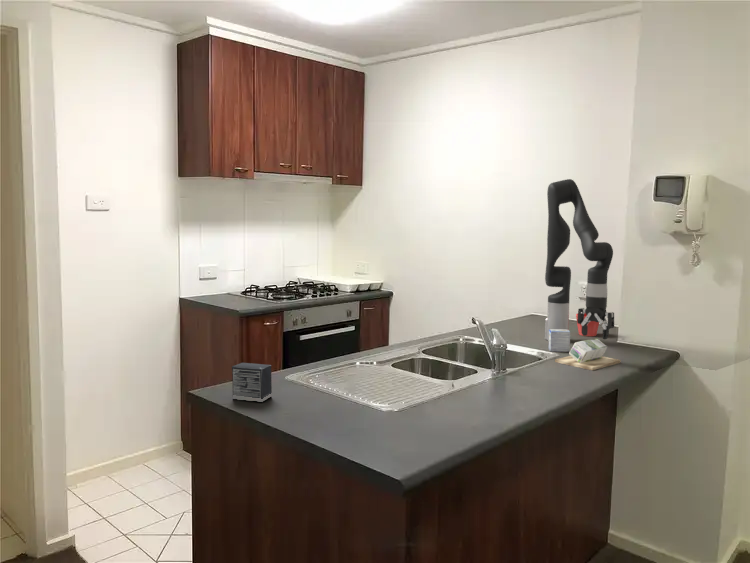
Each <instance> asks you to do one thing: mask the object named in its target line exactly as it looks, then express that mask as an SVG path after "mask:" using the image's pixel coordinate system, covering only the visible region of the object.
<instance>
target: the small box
mask: <svg viewBox="0 0 750 563" xmlns="http://www.w3.org/2000/svg"><path fill="white" fill-rule="evenodd" d="M231 372H232V373H231V375H232V383H231V384H232V396H233V395H236V396H244V397H252V398H261V399H263V398H264V397H266V396H268V395H269V394H271V393H273V392H272V388H273V387H272V386H273V385H272V365H271V364H263V363H262V364H261V363H252V362H251V363H250V362H240V363H238V364H236V365H235V364H234V365H232V366H231Z"/></svg>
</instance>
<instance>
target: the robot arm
mask: <svg viewBox="0 0 750 563" xmlns="http://www.w3.org/2000/svg"><path fill="white" fill-rule="evenodd" d="M567 203H572V204H573V206H574V212H573V220H572V226H573V228H574V231H575V233H576V234H577V236H578V238H579V241H580V245H581V250H582V254H583V256H584V257H585V259H586V260H587V261H589V262H596V264H595V265H594V266H593V267H590V268H589V269H588V270H587V279H586V280H587V281H586V282H587V283H586V288H585V289H586V290H585V293H586V294H585V307H580V308H578V310H577V313H578V319H576V324H577V323H578V324H581V325H582V334H583V336H582V337H587V336H586V335H587V332H588V326H587V324H588V323H589V322H590V321H595V322H599V325H600V326H601V327H602V328H603V329H602V340H607V339H608V338H609V337H610V336H609V334H610V333H609V332H610V329H613V328H615V312H613V311H610V312H607V307H608V306H607V305H608V272H609V269H610V266H611V263H612V260H613V255H614V249H613V246H612V245H611V243H609V242H607V241H604V242H602V241H599V242H598V241H597V242H596V240H597V239H598V238H599V231H598V229H597V228H596V226H595V224H594V223H593V221H592V219H591V218H590V215H589V213H588V210H587V208H586V205H585V202H584V199H583V197H582V194H581V191H580V189H579V187H578V185H577V183H576V182H575V181H574V179H571V178H569V179H568V178H567V179H563V180H557V181H553V182H551V183H550V184H548V186H547V211H548V212H547V213H548V215H547V216H548V219H547V220H548V221H547V238H546V239H547V240H546V242H547V243H546V246H547V248H546V249H547V251H546V252H547V254H546V264H545V265H546V266H545V274H544V276H545V277H544V282H545V285H546V286H547V287H551V288H562V289H561V290H560V291H558V292H555V293H553V294H550V295H548V296H547V317H546V318H545V321H544V322H545V323H544V340H547V341H548V342H549V330H550V329H565V330H569V328H570V327H569V325H570V296H571V293H570V291H571V281H572V270H571V267H570V266H564V265H563V266H562V265H561V266H560V265H559V266H558V265H557V266H555V265H556V263H557V260H558V259H560V258H561V256H562V255H563V254H564V252H566V250H567V249H568V247H569V246H570V242H571V228H570V226H569V224H568V223H567V221H565V219H564V218H563V217H562V214H561V213H560V205H564V204H567ZM585 313H586V315H587V316H586V318H585V319H584V314H585Z"/></svg>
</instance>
